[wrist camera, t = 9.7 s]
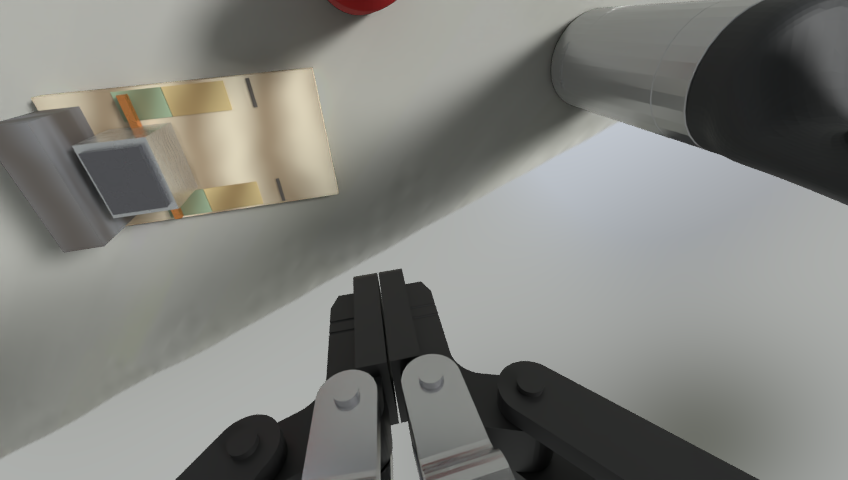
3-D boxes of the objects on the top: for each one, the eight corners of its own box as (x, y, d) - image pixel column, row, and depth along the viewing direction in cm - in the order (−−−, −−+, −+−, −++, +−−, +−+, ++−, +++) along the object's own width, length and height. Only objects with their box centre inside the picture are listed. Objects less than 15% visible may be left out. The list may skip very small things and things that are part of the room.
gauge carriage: (157, 90, 30) (124, 102, 26) (208, 211, 36) (189, 238, 31) (91, 97, 30) (44, 110, 25) (153, 219, 35) (125, 248, 31)
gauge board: (312, 67, 33) (307, 76, 27) (338, 189, 39) (338, 219, 33) (40, 95, 30) (-34, 112, 24) (115, 223, 36) (70, 262, 30)
